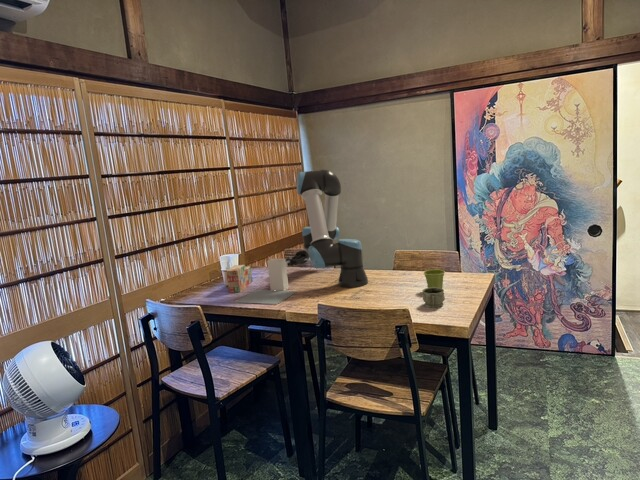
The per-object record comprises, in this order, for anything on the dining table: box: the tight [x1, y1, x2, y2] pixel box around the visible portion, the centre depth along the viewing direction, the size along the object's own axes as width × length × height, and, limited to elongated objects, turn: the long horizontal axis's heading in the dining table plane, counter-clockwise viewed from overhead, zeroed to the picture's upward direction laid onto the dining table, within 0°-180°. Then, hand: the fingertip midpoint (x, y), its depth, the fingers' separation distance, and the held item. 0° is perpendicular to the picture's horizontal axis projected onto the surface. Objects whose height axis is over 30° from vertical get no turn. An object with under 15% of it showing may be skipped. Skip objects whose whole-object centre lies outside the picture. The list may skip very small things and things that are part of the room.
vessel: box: [422, 287, 446, 309], centre depth 177 cm, size 12×9×6 cm
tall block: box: [267, 258, 290, 291], centre depth 224 cm, size 8×5×16 cm, turn 65°
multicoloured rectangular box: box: [225, 264, 254, 293], centre depth 238 cm, size 21×6×12 cm, turn 170°
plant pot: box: [423, 269, 446, 289], centre depth 196 cm, size 9×9×9 cm
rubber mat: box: [233, 289, 298, 305], centre depth 213 cm, size 24×20×1 cm
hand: (283, 266), depth 229 cm, fingers closed
